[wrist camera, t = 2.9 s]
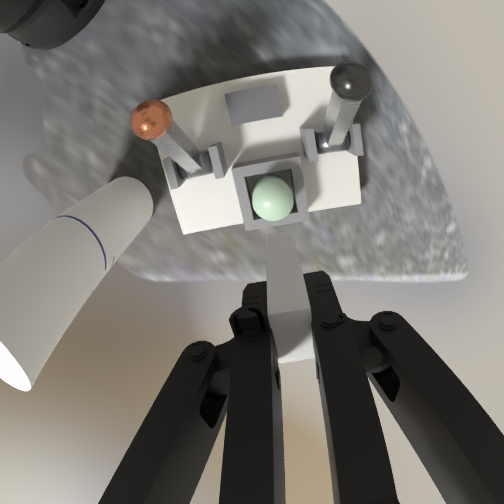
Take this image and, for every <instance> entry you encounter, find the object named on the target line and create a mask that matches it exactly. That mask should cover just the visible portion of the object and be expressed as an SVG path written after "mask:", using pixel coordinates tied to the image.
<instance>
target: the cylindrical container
mask: <svg viewBox="0 0 504 504" xmlns="http://www.w3.org/2000/svg"><path fill="white" fill-rule="evenodd" d="M152 214H153V200H152V197H151V194H150V192H149V190H148V189H147V187H146V186H145V185H144V184H143V183H142V182H140V181H139V180H137V179H135V178H132V177H119V178H117V179H115V180H113V181H111V182H110V183H108V184H106V185H105V186H103V187H101V188H100V189H98V190H96V191H95V192H93V193H92V194H90V195H89V196H87V197H85V198H84V199H82V200H81V201H79V202H78V203H76V204H75V205H73V206H72V207H70V208H69V209H67V210H66V211H64V212H63V213H61V214H60V215H59V216H57V217H56V218H54V219H53V220H51V221H50V222H49V223H47V224H46V225H45V226H43V227H42V228H41V229H40V230H38V231H37V232H36V233H34V234H33V235H32V236H31V237H29V238H28V239H27V240H25V241H24V242H23V243H22V244H20V245H19V246H18V247H17V248H16V249H14V250H13V251H12V252H11V253H10V254H9V255H7V256H6V257H5V258H4V259H3V260H2V261H1V262H0V378H1V379H3V380H4V381H5V382H7V383H8V384H10V385H11V386H13V387H15V388H17V389H19V390H23V391H29V390H30V389H31V387H32V385H33V384H34V382H35V380H36V378H37V376H38V375H39V373H40V371H41V369H42V368H43V366H44V364H45V363H46V361H47V359H48V357H49V356H50V354H51V352H52V351H53V349H54V348H55V346H56V345H57V343H58V341H59V340H60V338H61V337H62V335H63V334H64V332H65V330H66V329H67V328H68V326H69V325H70V323H71V322H72V320H73V319H74V317H75V316H76V314H77V313H78V311H79V310H80V309H81V307H82V306H83V304H84V303H85V302H86V300H87V299H88V297H89V296H90V295H91V293H92V292H93V290H94V289H95V288H96V286H97V285H98V284H99V282H100V281H101V280H102V278H103V277H104V276H105V275H106V273H107V272H108V271H109V269H110V268H111V267H112V265H113V264H114V263H115V262H116V260H117V259H118V258H119V257H120V255H121V254H122V253H123V252H124V251H125V249H126V248H127V247H128V246H129V244H130V243H131V242H132V241H133V240H134V238H135V237H136V236H137V235H138V234H139V233H140V231H141V230H142V229H143V228H144V227H145V226H146V224H147V223H148V222H149V220H150V219H151V216H152Z"/></svg>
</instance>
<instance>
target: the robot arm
mask: <svg viewBox="0 0 504 504" xmlns="http://www.w3.org/2000/svg"><path fill="white" fill-rule="evenodd" d="M103 1H104V0H0V33H6V34H8V35H10V36H11V37H13V38H14V39H16V40H18V41H20V42H21V43H22V44H23V45H24V46H26V47H28V48H32V49H40V50H47V49H52V48H55V47H58V46H60V45H62V44H64V43H65V42H67V41H68V40H70V39H71V38H72V37H74V36H75V35H76V34H77V33H78V32H80V31H81V30H82V29H83V28H84V27H85V26H86V25H87V23H88V22H89V21H90V20H91V19H92V18H93V16H94V15H95V14H96V12H97V11H98V9H99V8H100V6H101V5H102V3H103ZM265 245H266V275H267V281H262V282H256V283H250V284H247V286H246V287H245V289H244V290H243V297H242V299H243V300H242V307H241V308H239V309H237V310H235V312H233V313H232V314H231V316H230V318H229V322H230V325H231V328H232V331H233V333H234V338H233V339H231V340H230V341H228V342H226V343H224V344H220V345H218V346H214V345H212V344H211V343H210V342H207V341H197V342H195V343H192V344H190V345H189V346H187V347H186V348H185V349H184V351H183V352H182V354H181V356H180V357H179V359H178V361H177V362H176V364H175V366H174V368H173V369H172V371H171V373H170V375H169V377H168V378H167V380H166V382H165V384H164V385H163V387H162V389H161V391H160V392H159V394H158V396H157V398H156V400H155V401H154V403H153V405H152V407H151V409H150V410H149V412H148V414H147V416H146V417H145V419H144V421H143V423H142V425H141V426H140V428H139V430H138V432H137V434H136V435H135V437H134V439H133V441H132V443H131V444H130V446H129V448H128V450H127V452H126V453H125V455H124V457H123V459H122V461H121V463H120V465H119V466H118V468H117V470H116V472H115V474H114V475H113V477H112V479H111V481H110V483H109V485H108V486H107V488H106V490H105V492H104V494H103V496H102V498H101V499H100V501H99V503H98V504H190V501H191V499H192V496H193V494H194V492H195V489H196V487H197V485H198V482H199V480H200V478H201V475H202V473H203V470H204V468H205V465H206V463H207V460H208V458H209V456H210V453H211V450H212V448H213V446H214V443H215V441H216V438H217V436H218V433H219V430H220V428H221V425H222V423H223V420H224V418H225V415H226V412H227V418H226V428H225V439H224V450H223V461H222V474H221V484H220V496H219V504H286V501H285V469H284V443H283V420H282V400H281V382H280V381H281V380H280V371H279V367H278V362H279V363H285V362H293V361H299V360H306V359H312V358H315V360H316V373H317V379H318V383H319V389H320V396H321V402H322V409H323V416H324V422H325V430H326V438H327V445H328V452H329V461H330V469H331V478H332V489H333V499H334V504H400V503H399V501H398V499H397V494H396V489H395V484H394V478H393V474H392V469H391V464H390V460H389V456H388V451H387V447H386V443H385V439H384V435H383V432H382V427H381V423H380V419H379V416H378V412H377V408H376V405H375V401H374V398H373V394H372V391H371V387H370V384H369V381H368V378H369V379H370V381H371V382H372V384H373V385H374V387H375V388H376V390H377V392H378V393H379V395H380V396H381V398H382V399H383V401H384V403H385V404H386V406H387V407H388V409H389V410H390V412H391V413H392V415H393V416H394V418H395V420H396V421H397V423H398V424H399V426H400V428H401V429H402V431H403V432H404V434H405V436H406V437H407V439H408V440H409V442H410V444H411V445H412V447H413V449H414V450H415V452H416V453H417V455H418V456H419V458H420V460H421V462H422V463H423V465H424V466H425V468H426V470H427V471H428V473H429V475H430V476H431V478H432V480H433V482H434V483H435V485H436V487H437V488H438V490H439V492H440V493H441V495H442V497H443V499H444V500H445V502H446V504H504V435H503V434H502V433H501V431H500V430H499V428H498V427H497V426H496V424H495V423H494V422H493V421H492V419H491V418H490V417H489V415H488V414H487V413H486V411H485V410H484V409H483V408H482V406H481V405H480V404H479V403H478V401H477V400H476V399H475V398H474V396H473V395H472V394H471V393H470V392H469V391H468V389H467V388H466V387H465V386H464V384H463V383H462V382H461V381H460V380H459V378H458V377H457V376H456V375H455V374H454V373H453V372H452V370H451V369H450V368H449V367H448V366H447V365H446V364H445V363H444V361H443V360H442V359H441V358H440V357H439V356H438V355H437V353H436V352H435V351H434V350H433V349H432V348H431V347H430V346H429V345H428V344H427V342H425V340H424V339H423V338H422V337H421V336H420V335H419V334H418V333H417V332H416V331H415V330H414V328H413V327H412V326H411V325H410V324H409V323H408V322H407V321H406V320H405V319H404V318H403V317H402V316H401V315H399V314H398V313H395V312H392V311H383V312H379V313H377V314H375V315H374V316H373V317H372V319H371V320H370V321H357V320H353V319H350V318H348V317H347V316H346V314H345V313H343V312H342V310H341V307H340V304H339V302H338V298H337V296H336V293H335V290H334V287H333V285H332V282H331V279H330V276H329V275H328V274H326V273H325V272H324V271H318V272H312V273H306V274H303V273H302V268H301V264H300V260H299V256H298V252H297V248H296V244H295V240H294V236H293V232H292V231H288V232H282V233H276V234H270V235H265ZM367 376H368V377H367Z"/></svg>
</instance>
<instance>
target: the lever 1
mask: <svg viewBox="0 0 504 504" xmlns="http://www.w3.org/2000/svg"><path fill="white" fill-rule="evenodd" d="M131 128H132V130H133V132H134V133H135V134H136V135H137V136H138V137H140V138H142V139H144V140H150V141H151V142H152V143H153V144H155V145H156V146H157V147H158V148H159V149H161V150H162V151H163V152H164V153H165V154H167V155H168V156H169V157H170V158H171V159H173V160H174V161H175V162H176V163H177V164H178V169H179V173H180V175H181V177H182V179H183V180H187V179H191V178H195V177H199V176H203V175H208V174H212V173H214V171H213V167H212V163H211V159H210V155H209V151H208V149H207V150H203V151H199V150H198V149H197V147H196V146H195V145H194V144H193V143H192V142H191V140H190V139H189V138H188V137H187V136H186V134H185V133H184V132H183V131H182V130H181V129H180V127H179V126H178V125H177V124H176V123H175V122H174V120H173V119H172V112H171V110H170V108H169V106H168V105H167V104H166V103H164V102H163V101H160V100H157V99H150V100H146V101H144V102H142V103H140V104H139V105H138V106H137V107H136V108H135V109H134V111H133V113H132V115H131Z"/></svg>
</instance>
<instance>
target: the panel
mask: <svg viewBox="0 0 504 504" xmlns="http://www.w3.org/2000/svg"><path fill="white" fill-rule="evenodd" d="M334 67H335V66H330V67H316V68H305V69H296V70H288V71H280V72H273V73H267V74H261V75H255V76H250V77H245V78H240V79H235V80H230V81H226V82H221V83H217V84H213V85H209V86H205V87H202V88H198V89H194V90H191V91H187V92H184V93H181V94H177V95H174V96H171V97H168V98H165V99H162V100H160V101H163V102H164V103H166V104H167V105H168V106H169V108H170V110H171V112H172V119H173V120H174V122H175V123H176V124H177V125H178V126H179V127H180V129H181V130H182V131H183V132H184V133H185V134H186V136H187V137H188V138H189V139H190V140H191V142H192V143H193V144H194V145H195V146H196V147H197V149H198V150H199V151H203V150H207V149H208V151H209V155H210V159H211V163H212V167H213V171H214V173H212V174H208V175H203V176H199V177H195V178H191V179H187V180H183V179H182V177H181V175H180V173H179V169H178V164H177V163H176V162H175V161H174V160H173V159H171V158H170V157H169V156H168V155H167V154H165V153H164V152H163V151H162V150H161V149H159V148H158V147H157V148H158V152H159V155H160V159H161V162H162V166H163V170H164V173H165V176H166V180H167V183H168V187H169V190H170V193H171V197H172V200H173V203H174V206H175V210H176V213H177V216H178V219H179V222H180V225H181V228H182V231H183V234H188V233H193V232H198V231H204V230H209V229H214V228H219V227H224V226H230V225H235V224H241V223H244V226H245V230H246V231H249V230H255V229H260V228H266V227H272V226H278V225H284V224H290V223H295V222H301V221H308V220H309V212H310V211H316V210H323V209H329V208H335V207H342V206H348V205H355V204H361V194H360V180H359V169H358V159H357V156H362V155H364V153H363V144H362V136H361V128H360V124H358V123H353V121H352V123H351V126H350V128H349V130H348V136H349V143H350V146H349V150H348V151H341V152H332V153H325V154H317V148H316V141H315V135H314V130H317V129H323V125H324V121H325V117H326V114H327V110H328V106H329V102H330V98H331V94H332V88H331V85H330V74H331V71H332V70H333V68H334ZM269 174H274V175H278V176H280V177H282V178H283V179H285V180H286V182H287V183H288V185H289V188H290V190H291V193H292V195H293V200H294V202H293V207H292V210H291V211H290V213H289V214H288V215H287V216H286V217H284V218H283V219H281V220H277V221H268V220H265V219H263V218H261V217H260V216H259V215H257V213H256V212H255V210H254V208H253V204H252V198H253V188H254V185H255V183H256V182H257V180H258V179H260V178H261V177H263V176H265V175H269Z"/></svg>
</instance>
